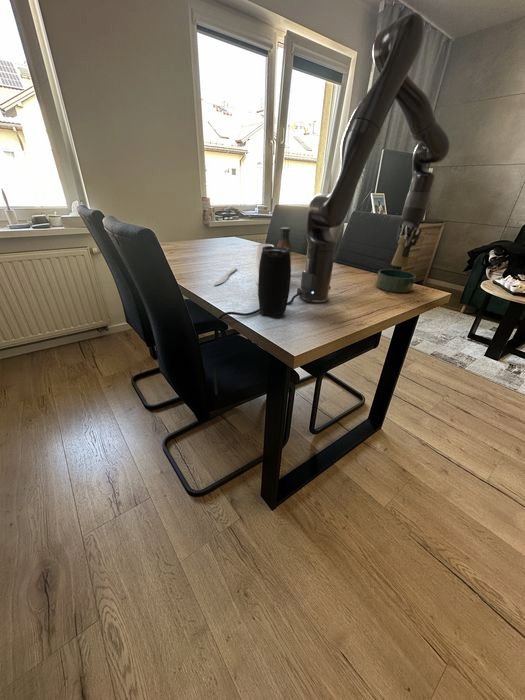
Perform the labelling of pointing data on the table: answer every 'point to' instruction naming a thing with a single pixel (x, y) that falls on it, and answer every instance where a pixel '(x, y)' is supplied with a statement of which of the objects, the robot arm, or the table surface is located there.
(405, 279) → the teal shallow bowl
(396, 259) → the cork
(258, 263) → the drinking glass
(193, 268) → the table surface
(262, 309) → the portable speaker
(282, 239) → the sauce bottle
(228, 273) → the butter knife
